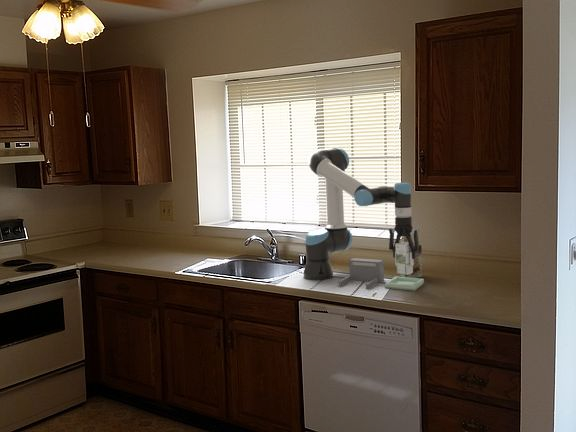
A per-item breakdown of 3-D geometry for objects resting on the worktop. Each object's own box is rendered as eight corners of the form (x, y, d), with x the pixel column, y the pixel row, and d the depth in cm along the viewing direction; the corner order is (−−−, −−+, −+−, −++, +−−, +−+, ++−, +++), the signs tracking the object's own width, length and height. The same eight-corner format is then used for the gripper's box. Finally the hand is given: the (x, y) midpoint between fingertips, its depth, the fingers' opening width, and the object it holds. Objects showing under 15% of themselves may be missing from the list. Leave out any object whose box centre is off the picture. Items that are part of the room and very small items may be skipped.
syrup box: (413, 272, 284) (412, 242, 282) (406, 275, 280) (405, 244, 278) (403, 271, 288) (402, 241, 286) (395, 274, 284) (394, 243, 282)
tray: (385, 288, 282) (385, 283, 282) (395, 281, 294) (395, 276, 294) (414, 290, 275) (414, 285, 275) (423, 283, 287) (423, 278, 287)
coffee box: (405, 279, 298) (404, 246, 295) (399, 276, 304) (399, 244, 301) (422, 277, 300) (421, 245, 298) (416, 274, 306) (415, 242, 304)
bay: (337, 286, 289) (337, 265, 288) (353, 277, 305) (353, 258, 304) (369, 289, 281) (368, 268, 280) (383, 280, 297) (383, 260, 296)
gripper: (380, 216, 282) (381, 265, 285) (421, 218, 272) (422, 268, 275) (386, 214, 289) (387, 262, 292) (426, 215, 279) (427, 264, 282)
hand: (404, 265), depth 283 cm, fingers closed on syrup box, 6 cm apart
